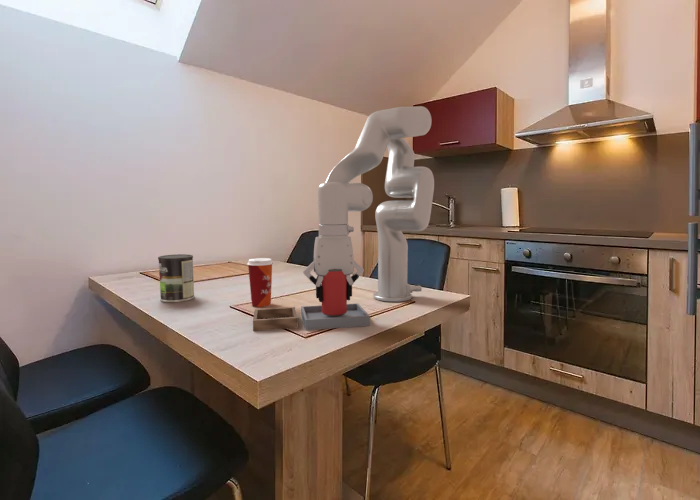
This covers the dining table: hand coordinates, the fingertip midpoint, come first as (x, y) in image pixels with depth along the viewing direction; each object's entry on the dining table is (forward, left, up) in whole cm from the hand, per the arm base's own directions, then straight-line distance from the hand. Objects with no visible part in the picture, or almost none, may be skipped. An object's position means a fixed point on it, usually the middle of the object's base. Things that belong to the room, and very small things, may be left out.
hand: (334, 299), depth 98 cm
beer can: (0, 0, -4) cm, 4 cm away
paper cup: (+19, -21, -6) cm, 29 cm away
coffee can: (+46, -35, -6) cm, 58 cm away
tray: (0, 0, -6) cm, 6 cm away
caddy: (+15, -1, -6) cm, 16 cm away
